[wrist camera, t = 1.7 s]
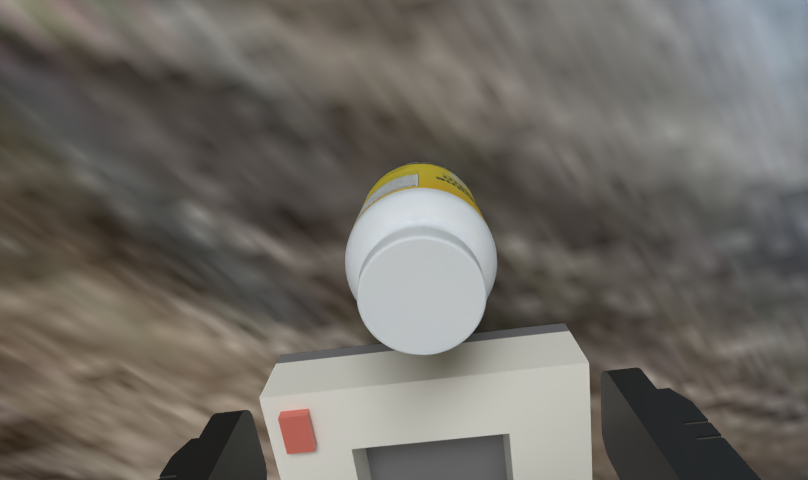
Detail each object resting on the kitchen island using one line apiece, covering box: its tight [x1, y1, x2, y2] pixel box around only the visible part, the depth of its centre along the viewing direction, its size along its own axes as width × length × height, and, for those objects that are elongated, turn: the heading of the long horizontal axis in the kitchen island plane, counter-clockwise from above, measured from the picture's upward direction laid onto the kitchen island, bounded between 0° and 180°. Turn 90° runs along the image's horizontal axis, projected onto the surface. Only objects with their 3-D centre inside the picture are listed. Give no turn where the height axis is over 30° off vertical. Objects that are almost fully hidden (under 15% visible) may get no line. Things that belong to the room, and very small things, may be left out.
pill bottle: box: [345, 162, 497, 355], centre depth 23 cm, size 6×6×12 cm
